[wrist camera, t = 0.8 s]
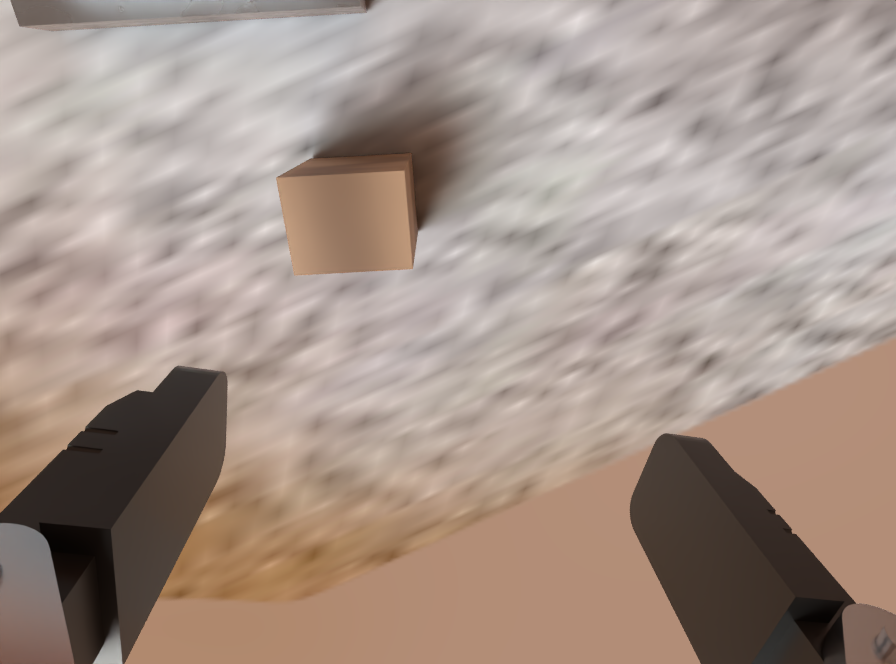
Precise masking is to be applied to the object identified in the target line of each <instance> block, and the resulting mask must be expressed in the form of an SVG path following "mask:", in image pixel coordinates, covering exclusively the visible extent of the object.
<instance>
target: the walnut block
mask: <svg viewBox="0 0 896 664" xmlns="http://www.w3.org/2000/svg"><path fill="white" fill-rule="evenodd" d="M276 180H277V185H278V191H279V196H280V201H281V207H282V212H283V217H284V223H285V228H286V233H287V239H288V244H289V250H290V255H291V260H292V266H293V271H294V275H312V274H330V273H348V272H366V271H384V270H403V269H413V263H414V256H415V249H416V242H417V235H418V229H417V216H416V203H415V190H414V177H413V164H412V153H402V154H384V155H366V156H349V157H331V158H313V159H309V160H307V161H305V162H304V163H302V164H300V165H298V166H296V167H295V168H293V169H291V170H289V171H287V172H286V173H284V174H282V175H280V176H278V177H277V178H276Z"/></svg>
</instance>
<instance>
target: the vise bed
mask: <svg viewBox="0 0 896 664" xmlns="http://www.w3.org/2000/svg"><path fill="white" fill-rule="evenodd" d="M11 3H12V6H13V9H14V12H15V15H16V18H17V20H18V23H19V26H21V27H28V28H35V29H42V30H49V31H61V30H78V29H95V28H113V27H130V26H147V25H164V24H181V23H198V22H215V21H232V20H249V19H266V18H283V17H301V16H318V15H335V14H352V13H367V12H366V2H365V0H11Z"/></svg>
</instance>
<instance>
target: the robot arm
mask: <svg viewBox="0 0 896 664" xmlns="http://www.w3.org/2000/svg"><path fill="white" fill-rule="evenodd" d="M226 418H227V376H226V374H225V372H221V371H214V370H207V369H199V368H192V367H185V366H177V367H175V368H174V369H173V370H172V371H171V372H170V373H169V374H168V376H167V377H166V378H165V379H164V380H163V381H162V382H161V384H160V385H159V386H158V387H157V388H156V389H155V390H154V392H146V391H139V390H137V391H135V392H133V393H131V394H129V395H127V396H125V397H123V398H121V399H119V400H117V401H115V402H113V403H111V404H109V405H107V406H106V407H105V408H104V409H103V410H102V411H101V412H100V413H99V414H98V415H97V416H96V417H95V418H94V419H93V420H92V421H91V422H90V423H89V424H88V425H87V426H86V428H85V431H81V432H80V433H79V434H78V435H77V436H76V437H75V438H74V439H73V440H72V441H71V442H70V443H69V444H68V447H67V449H66V450H62V451H61V452H60V453H59V454H58V455H57V456H56V457H55V458H54V459H53V460H52V461H51V462H50V463H49V464H48V465H47V466H46V467H45V468H44V469H43V471H42V472H41V473H40V474H39V475H38V476H37V477H36V478H35V479H34V480H33V481H32V482H31V483H30V484H29V485H28V486H27V487H26V488H25V489H24V490H23V491H22V492H21V493H20V494H19V495H18V496H17V497H16V498H15V499H14V500H13V501H12V502H11V503H10V504H9V505H8V506H7V507H6V508H5V509H4V510H3V511H2V512H1V513H0V664H124V663H125V661H126V659H127V658H128V656H129V654H130V652H131V650H132V648H133V646H134V644H135V642H136V640H137V638H138V636H139V634H140V632H141V630H142V628H143V626H144V624H145V622H146V620H147V618H148V616H149V614H150V612H151V610H152V608H153V606H154V604H155V602H156V601H157V599H158V597H159V595H160V593H161V591H162V589H163V587H164V585H165V583H166V581H167V579H168V577H169V575H170V573H171V571H172V569H173V567H174V565H175V563H176V561H177V559H178V557H179V555H180V553H181V551H182V549H183V548H184V546H185V544H186V542H187V540H188V538H189V536H190V534H191V532H192V530H193V528H194V526H195V524H196V522H197V520H198V518H199V516H200V514H201V512H202V510H203V508H204V506H205V504H206V502H207V500H208V498H209V496H210V494H211V493H212V491H213V489H214V487H215V485H216V483H217V480H218V478H219V475H220V472H221V469H222V465H223V461H224V456H225V448H226ZM630 517H631V523H632V526H633V529H634V531H635V533H636V535H637V537H638V539H639V541H640V543H641V545H642V547H643V549H644V551H645V553H646V555H647V557H648V559H649V561H650V563H651V565H652V567H653V569H654V571H655V573H656V575H657V577H658V579H659V581H660V583H661V585H662V587H663V589H664V591H665V593H666V595H667V597H668V599H669V601H670V603H671V605H672V607H673V609H674V611H675V613H676V615H677V617H678V619H679V620H680V623H681V625H682V627H683V629H684V631H685V632H686V635H687V637H688V638H689V641H690V643H691V645H692V647H693V649H694V651H695V652H696V655H697V656H698V659H699V660H700V663H701V664H896V615H895V614H893V613H891V612H888V611H886V610H884V609H881V608H878V607H875V606H871V605H867V604H856V603H855V602H854V600H853V599H852V598H851V597H850V596H849V595H848V594H847V592H846V591H845V590H844V589H843V588H842V587H841V585H840V584H839V583H838V582H837V581H836V580H835V579H834V577H833V576H832V575H831V574H830V573H829V572H828V570H827V569H826V568H825V567H824V566H823V565H822V563H821V562H820V561H819V560H818V559H817V558H816V557H815V555H814V554H813V553H812V552H811V551H810V550H809V548H808V547H807V546H806V545H805V544H804V543H803V541H802V540H801V539H800V538H799V537H798V536H797V535H796V534H792V532H791V530H792V529H791V528H790V527H789V525H788V524H787V523H786V522H785V521H784V520H783V519H782V517H781V516H780V515H776V514H775V509H774V508H773V507H772V506H771V505H770V503H769V502H768V501H767V500H766V499H765V498H764V497H763V496H762V494H761V493H760V492H759V491H758V490H757V488H755V487H754V486H753V485H751V484H750V483H749V482H747V481H746V480H745V479H743V478H742V477H741V476H739V475H738V474H737V473H736V472H734V470H733V469H732V468H731V467H730V466H729V465H728V463H727V462H726V461H725V460H724V459H723V457H722V456H721V455H720V454H719V453H718V451H717V450H716V449H715V448H714V447H713V446H712V444H711V443H710V442H709V441H707V440H706V439H703V438H697V437H690V436H682V435H675V434H663V435H661V436H660V437H659V438H658V439H657V440H656V442H655V444H654V446H653V448H652V451H651V453H650V456H649V458H648V460H647V462H646V465H645V467H644V469H643V472H642V474H641V476H640V479H639V481H638V483H637V486H636V488H635V490H634V492H633V495H632V498H631V504H630Z"/></svg>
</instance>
